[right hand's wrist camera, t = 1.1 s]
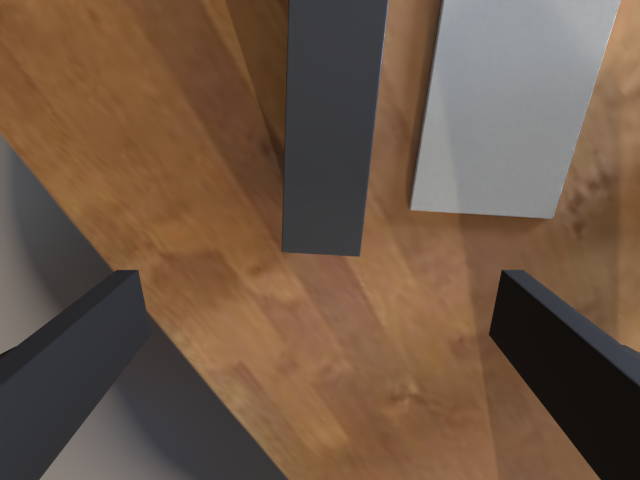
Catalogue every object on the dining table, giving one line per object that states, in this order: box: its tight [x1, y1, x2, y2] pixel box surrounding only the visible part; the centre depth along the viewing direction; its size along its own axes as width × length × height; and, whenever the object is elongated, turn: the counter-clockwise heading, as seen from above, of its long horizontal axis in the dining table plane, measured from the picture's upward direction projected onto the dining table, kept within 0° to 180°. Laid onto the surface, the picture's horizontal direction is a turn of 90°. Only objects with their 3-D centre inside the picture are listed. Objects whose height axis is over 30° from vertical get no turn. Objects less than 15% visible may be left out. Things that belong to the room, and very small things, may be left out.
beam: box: [282, 0, 389, 257], centre depth 21 cm, size 30×5×10 cm, turn 176°
